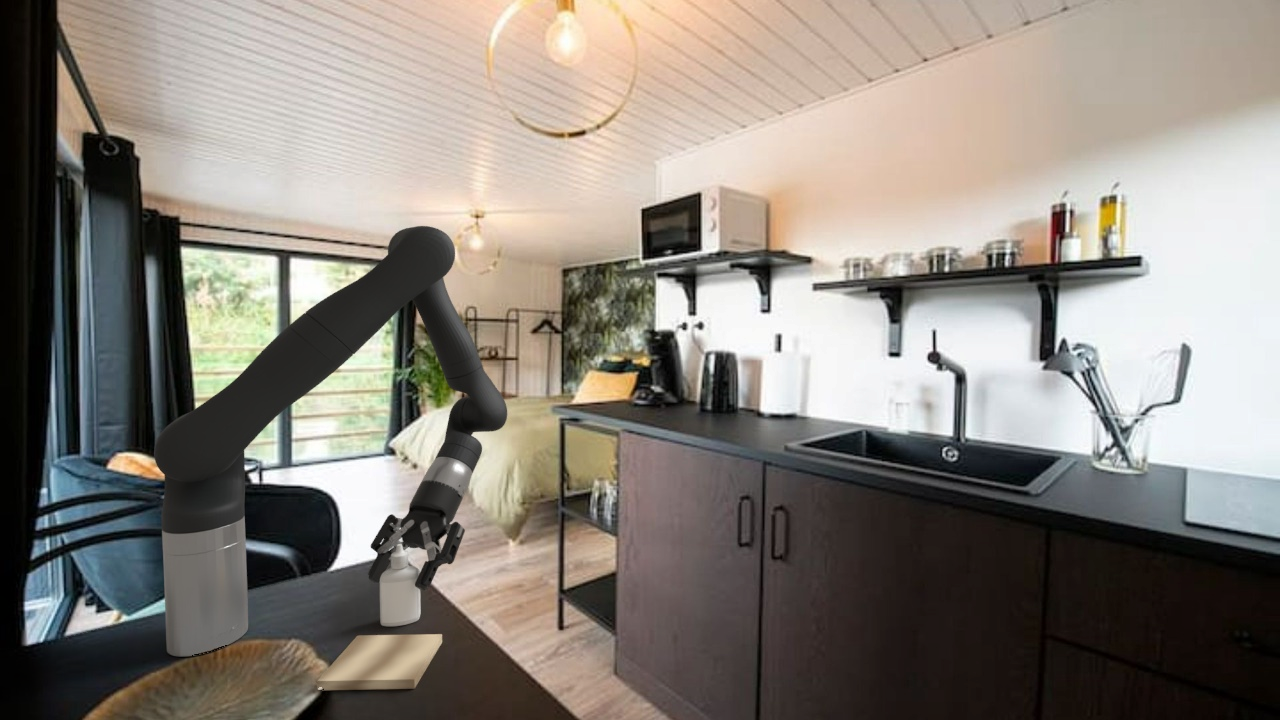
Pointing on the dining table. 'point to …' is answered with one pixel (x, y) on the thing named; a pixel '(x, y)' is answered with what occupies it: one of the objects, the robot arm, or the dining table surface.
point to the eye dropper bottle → (399, 591)
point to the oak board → (381, 662)
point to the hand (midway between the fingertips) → (396, 584)
